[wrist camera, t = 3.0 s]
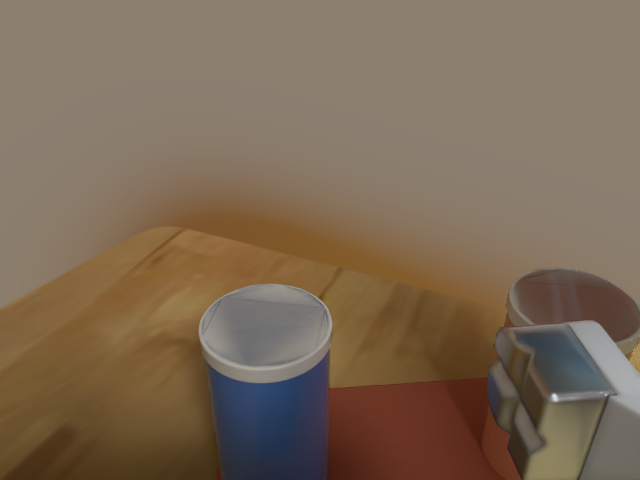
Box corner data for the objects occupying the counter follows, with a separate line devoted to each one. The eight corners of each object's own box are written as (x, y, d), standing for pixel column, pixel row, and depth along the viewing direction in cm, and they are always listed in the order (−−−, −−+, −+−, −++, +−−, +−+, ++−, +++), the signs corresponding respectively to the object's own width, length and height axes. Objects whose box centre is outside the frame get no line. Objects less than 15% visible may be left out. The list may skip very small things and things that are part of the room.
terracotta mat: (543, 376, 37) (544, 373, 37) (640, 545, 27) (643, 541, 27) (223, 399, 35) (222, 396, 35) (211, 586, 26) (210, 583, 26)
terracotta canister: (561, 405, 34) (604, 264, 29) (612, 492, 29) (674, 341, 24) (465, 412, 34) (491, 270, 29) (500, 502, 29) (540, 351, 24)
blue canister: (324, 422, 33) (325, 279, 28) (336, 516, 28) (340, 364, 23) (222, 430, 33) (203, 286, 28) (216, 527, 28) (191, 374, 23)
